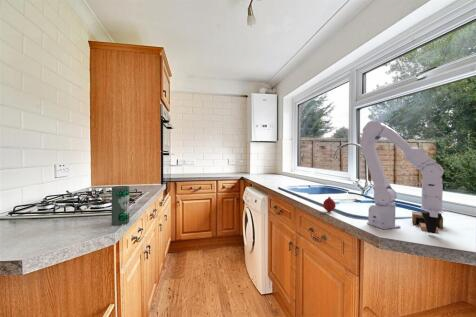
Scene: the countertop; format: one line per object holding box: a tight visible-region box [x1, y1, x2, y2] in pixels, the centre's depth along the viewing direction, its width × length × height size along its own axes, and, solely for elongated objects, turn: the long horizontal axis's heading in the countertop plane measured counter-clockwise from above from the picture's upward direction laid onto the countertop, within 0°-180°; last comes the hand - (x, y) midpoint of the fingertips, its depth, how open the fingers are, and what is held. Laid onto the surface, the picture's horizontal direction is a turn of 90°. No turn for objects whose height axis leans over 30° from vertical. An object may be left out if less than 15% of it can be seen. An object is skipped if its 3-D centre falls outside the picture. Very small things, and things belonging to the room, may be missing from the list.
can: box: [111, 185, 130, 226], centre depth 90 cm, size 6×6×15 cm
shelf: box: [411, 211, 444, 230], centre depth 93 cm, size 6×10×4 cm, turn 54°
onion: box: [322, 196, 336, 213], centre depth 112 cm, size 6×6×8 cm
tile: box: [419, 223, 439, 234], centre depth 87 cm, size 6×5×2 cm
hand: (430, 232), depth 81 cm, fingers closed
